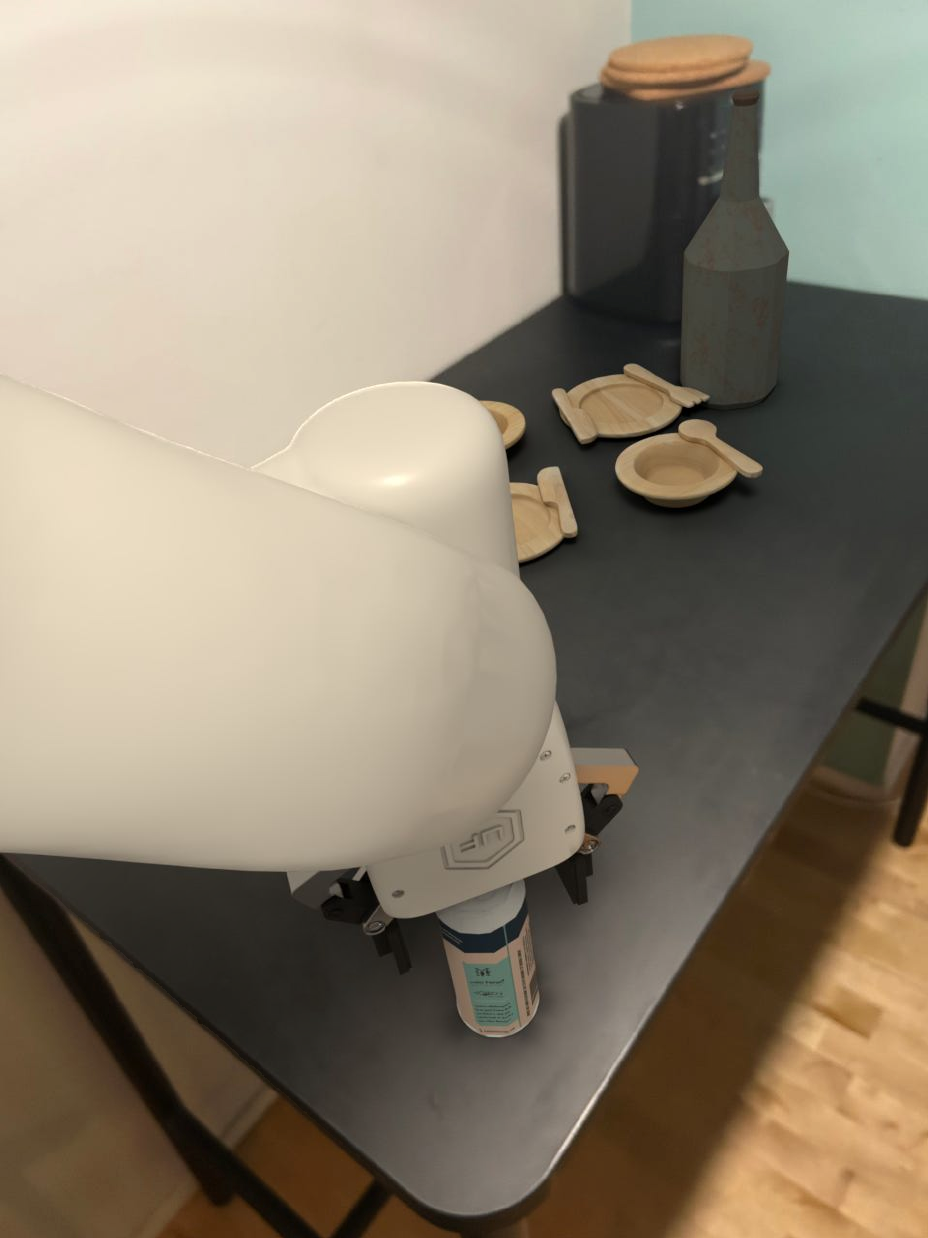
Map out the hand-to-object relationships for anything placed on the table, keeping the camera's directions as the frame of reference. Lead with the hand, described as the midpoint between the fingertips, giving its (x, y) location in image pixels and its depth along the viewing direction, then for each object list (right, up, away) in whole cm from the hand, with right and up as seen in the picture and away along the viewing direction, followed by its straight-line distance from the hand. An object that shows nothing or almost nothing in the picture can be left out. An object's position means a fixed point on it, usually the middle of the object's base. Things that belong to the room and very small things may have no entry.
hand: (485, 915), depth 50 cm
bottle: (+28, +41, +57) cm, 75 cm away
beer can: (+1, -7, +5) cm, 9 cm away
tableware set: (+9, +31, +48) cm, 58 cm away
